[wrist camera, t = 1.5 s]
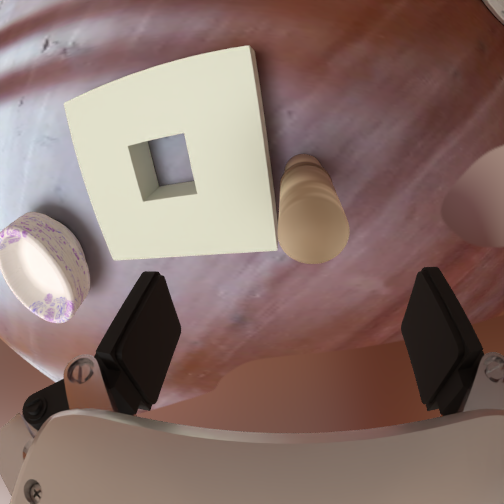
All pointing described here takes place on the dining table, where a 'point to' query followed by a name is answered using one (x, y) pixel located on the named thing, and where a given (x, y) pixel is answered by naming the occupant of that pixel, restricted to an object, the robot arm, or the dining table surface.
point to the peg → (310, 213)
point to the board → (200, 154)
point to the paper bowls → (44, 266)
